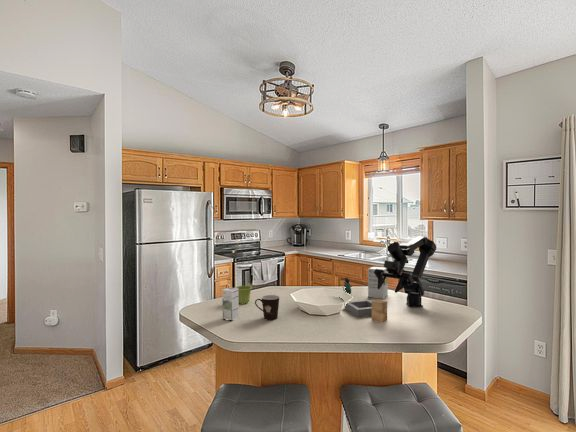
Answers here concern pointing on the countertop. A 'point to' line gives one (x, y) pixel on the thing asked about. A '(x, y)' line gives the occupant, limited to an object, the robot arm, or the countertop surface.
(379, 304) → the oak block
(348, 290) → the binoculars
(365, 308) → the collar
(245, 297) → the plant pot
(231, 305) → the syrup box
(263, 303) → the coffee mug
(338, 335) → the countertop surface
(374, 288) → the supplement box
